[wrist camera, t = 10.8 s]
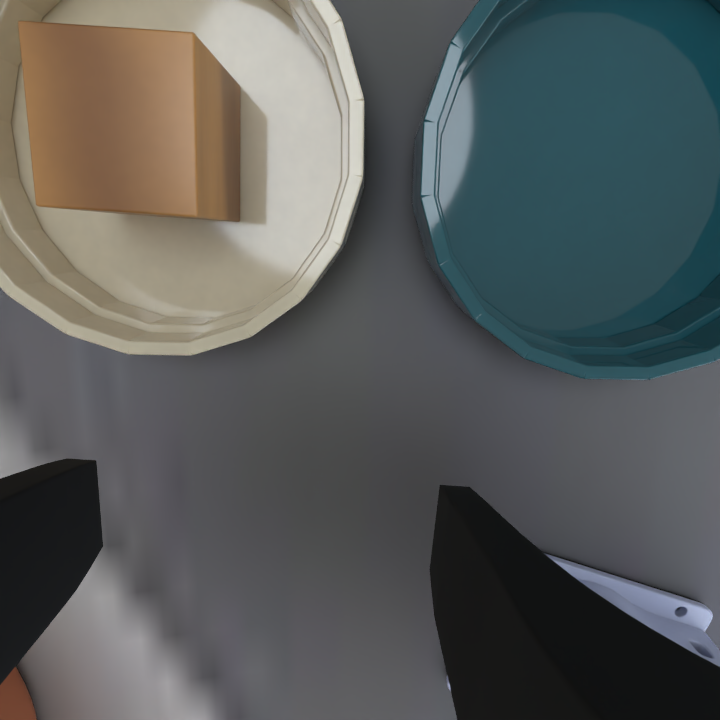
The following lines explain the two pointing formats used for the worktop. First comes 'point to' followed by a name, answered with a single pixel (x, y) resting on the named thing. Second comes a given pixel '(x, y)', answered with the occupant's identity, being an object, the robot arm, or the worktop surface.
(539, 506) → the worktop surface
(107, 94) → the block
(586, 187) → the teal bowl
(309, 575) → the worktop surface
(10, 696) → the potted cactus
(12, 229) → the cream bowl
